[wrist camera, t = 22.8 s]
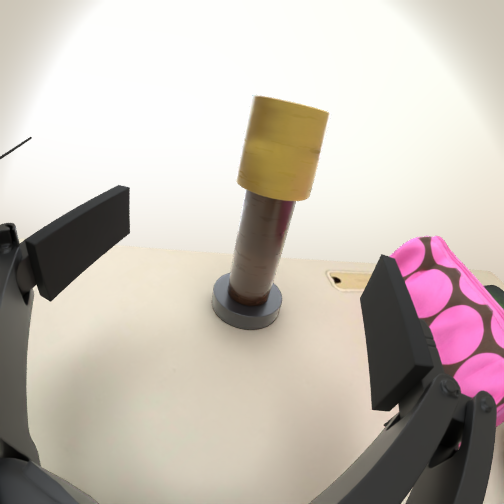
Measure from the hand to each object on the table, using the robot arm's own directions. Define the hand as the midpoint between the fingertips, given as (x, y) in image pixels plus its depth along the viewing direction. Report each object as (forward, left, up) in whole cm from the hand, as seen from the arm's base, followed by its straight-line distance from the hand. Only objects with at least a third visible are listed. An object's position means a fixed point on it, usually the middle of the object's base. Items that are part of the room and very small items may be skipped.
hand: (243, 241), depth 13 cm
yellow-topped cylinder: (-6, +4, -10) cm, 12 cm away
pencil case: (+5, +19, -10) cm, 23 cm away
